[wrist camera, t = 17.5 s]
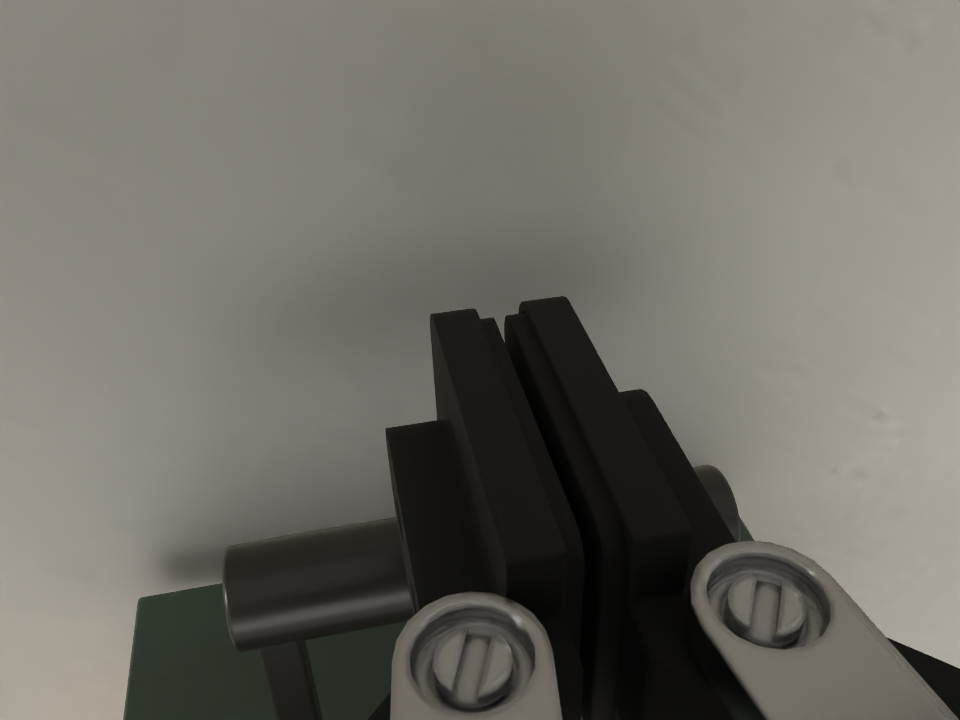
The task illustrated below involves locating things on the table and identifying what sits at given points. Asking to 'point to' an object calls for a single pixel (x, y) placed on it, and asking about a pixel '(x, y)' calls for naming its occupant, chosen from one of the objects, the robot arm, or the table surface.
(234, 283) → the table surface
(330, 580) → the wooden drawer
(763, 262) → the table surface
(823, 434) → the table surface
